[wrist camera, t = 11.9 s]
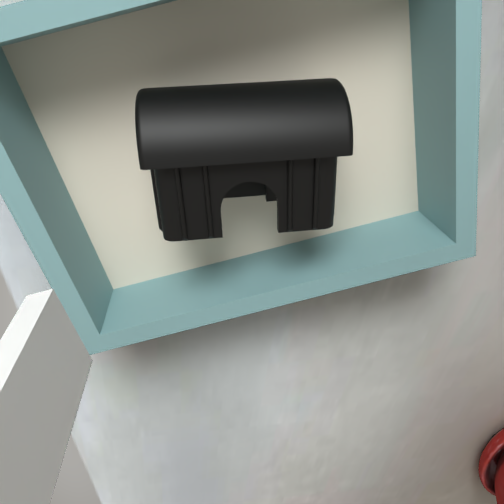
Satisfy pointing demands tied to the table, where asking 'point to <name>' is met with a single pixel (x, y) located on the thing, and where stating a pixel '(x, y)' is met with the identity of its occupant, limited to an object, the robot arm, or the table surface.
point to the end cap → (243, 151)
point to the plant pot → (493, 466)
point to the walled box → (239, 208)
